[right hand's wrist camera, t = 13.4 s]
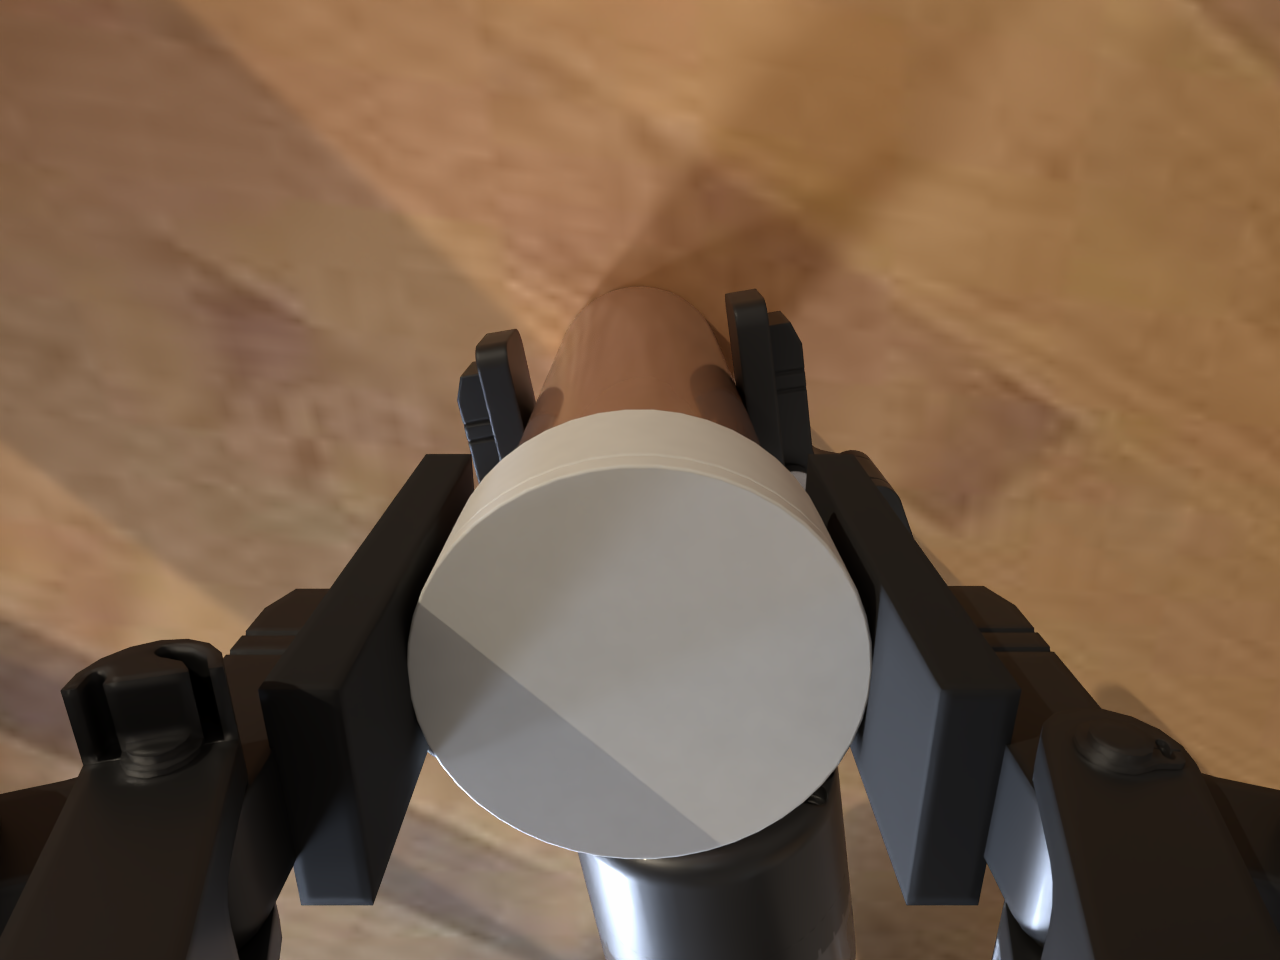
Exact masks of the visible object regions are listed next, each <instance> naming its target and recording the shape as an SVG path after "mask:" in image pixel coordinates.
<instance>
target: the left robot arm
mask: <svg viewBox="0 0 1280 960" xmlns="http://www.w3.org/2000/svg"><path fill="white" fill-rule="evenodd" d="M725 302H726V312H727V319H728V327H729V335H730V343H731V350H732V358H733V366H734V373H735V381H736V387H737V389H738V392H739V394H740V397H741V399H742V401H743V404H744V406H745V408H746V411H747V413H748V416H749V418H750V420H751V423H752V425H753V427H754V430H755V432H756V435H757V437H758V439H759V442H760V444H761V446H762V448H763V449H764V450H766V451H767V452H768V453H770V454H771V455H772V456H774V457H775V458H776V459H777V460H778V461H779V462H780V463H781V464H782V465H783V466H784V467H785V468H786V469H787V470H788V471H789V472H790V473H791V474H792V475H793V476H794V477H795V478H796V479H797V481H798V482H799V483H800V485H801V486H802V487H803V489H804V490H805V488H806V475H807V463H808V454H854V456H855V457H856V459H857V460H858V461H859V463H860V464H861V466H862V467H863V468H864V470H865V471H866V473H867V474H868V475H869V477H870V478H871V480H872V481H873V482H874V484H875V485H876V487H877V488H878V489H879V491H880V492H881V494H882V495H883V496H884V498H885V499H886V501H887V502H888V503H889V505H890V506H891V508H892V509H893V510H894V512H895V513H896V515H897V516H898V517H899V519H900V520H901V522H902V523H903V524H904V526H905V527H906V529H907V530H908V531H909V533H910V534H911V536H912V537H913V535H912V532H911V529H910V526H909V523H908V521H907V518H906V515H905V512H904V509H903V506H902V503H901V500H900V498H899V496H898V495H897V494H896V492H895V491H894V490H893V488H892V487H891V486H890V484H889V483H888V482H887V480H886V479H885V478H884V476H883V475H882V474H881V472H880V471H879V470H878V468H877V467H876V466H875V465H874V463H873V462H872V461H871V459H870V458H869V457H868V456H867V455H866V454H864V453H862V452H860V451H856V450H849V451H844V452H842V453H833V452H828V451H823V450H820V449H817V448H815V447H814V446H812V441H811V431H810V420H809V410H808V400H807V390H806V380H805V371H804V359H803V349H802V343H801V341H800V339H799V337H798V335H797V334H796V332H795V330H794V328H793V326H792V324H791V323H790V321H789V320H788V319H787V318H786V317H785V316H784V315H783V314H782V313H781V311H776V312H770V313H767V308H766V304H765V300H764V298H763V297H762V296H761V294H760V293H759V292H758V291H757V290H756V289H751V290H745V291H739V292H733V293H727V294H725ZM475 354H476V362H472V363H471V364H470V366H469V367H468V368H467V369H466V371H465V372H464V373H463V374H462V376H461V377H460V383H459V391H458V398H457V401H458V405H459V409H460V413H461V417H462V421H463V423H464V428H465V432H466V436H467V440H468V441H469V447H470V451H471V455H472V459H473V463H474V467H475V470H476V474H477V478H478V482H479V484H480V482H481V481H482V480H483V478H484V477H485V476H486V475H487V474H488V473H489V472H490V471H491V470H492V469H493V468H494V467H495V466H496V465H497V464H498V463H499V462H500V461H501V460H502V459H503V458H504V457H506V456H507V455H508V454H510V453H511V452H512V451H514V450H515V449H516V448H517V447H518V445H519V443H520V440H521V438H522V435H523V433H524V431H525V428H526V426H527V423H528V421H529V419H530V416H531V414H532V412H533V409H534V407H535V404H536V401H535V397H534V392H533V388H532V384H531V379H530V375H529V370H528V366H527V361H526V357H525V352H524V348H523V344H522V340H521V337H520V334H519V332H518V330H517V329H512V330H506V331H500V332H494V333H489V334H486V335H485V337H484V338H483V339H482V340H481V341H480V342H479V343H478V345H477V346H476V353H475ZM428 752H429V753H430V754H431V755H433V756H434V757H436V756H435V754H434V753H433V751H432V750H431V748H430V746H429V749H428ZM578 855H579V858H580V862H581V866H582V870H583V874H584V878H585V882H586V886H587V889H588V893H589V897H590V901H591V905H592V908H593V912H594V916H595V920H596V924H597V928H598V932H599V936H600V940H601V944H602V948H603V951H604V955H605V959H606V960H856V945H855V931H854V921H853V911H852V901H851V891H850V881H849V872H848V862H847V852H846V841H845V832H844V822H843V812H842V802H841V792H840V783H839V773H838V766H837V767H836V768H835V770H834V771H833V772H832V773H831V774H830V776H829V777H828V778H827V779H826V780H825V782H824V783H823V784H822V785H821V786H820V787H819V788H818V789H817V790H816V791H815V792H814V793H813V794H812V795H811V796H809V797H808V798H807V799H806V800H805V801H804V802H803V803H802V804H800V805H799V806H798V807H796V808H795V809H794V810H792V811H791V812H790V813H788V814H787V815H785V816H784V817H783V818H781V819H780V820H778V821H776V822H774V823H773V824H771V825H769V826H767V827H766V828H764V829H762V830H760V831H759V832H756V833H754V834H752V835H750V836H747V837H745V838H743V839H740V840H738V841H736V842H733V843H730V844H727V845H724V846H721V847H718V848H714V849H711V850H708V851H703V852H698V853H693V854H689V855H684V856H677V857H667V858H657V859H623V858H613V857H602V856H596V855H591V854H586V853H581V852H578Z"/></svg>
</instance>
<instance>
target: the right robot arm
mask: <svg viewBox="0 0 1280 960" xmlns="http://www.w3.org/2000/svg"><path fill="white" fill-rule="evenodd" d="M805 491H806V493H807V494H808V495H809V497H810V498H811V500H812V502H813V504H814V506H815V508H816V509H817V511H818V513H819V515H820V517H821V519H822V521H823V523H824V525H825V527H826V529H827V531H828V533H829V535H830V537H831V539H832V541H833V543H834V545H835V547H836V549H837V551H838V553H839V555H840V557H841V558H842V560H843V562H844V564H845V566H846V568H847V570H848V572H849V574H850V577H851V578H852V580H853V582H854V584H855V586H856V588H857V590H858V593H859V596H860V599H861V601H862V604H863V607H864V610H865V612H866V615H867V620H868V625H869V630H870V635H871V640H872V671H871V680H870V688H869V696H868V701H867V705H866V708H865V712H864V716H863V719H862V721H861V724H860V726H859V728H858V731H857V733H856V735H855V737H854V740H853V742H852V744H851V745H850V748H851V750H852V753H853V756H854V759H855V762H856V764H857V767H858V770H859V773H860V776H861V779H862V781H863V784H864V787H865V790H866V793H867V795H868V798H869V801H870V804H871V807H872V809H873V812H874V815H875V818H876V821H877V823H878V826H879V829H880V832H881V835H882V838H883V840H884V843H885V846H886V849H887V852H888V854H889V857H890V860H891V863H892V866H893V868H894V871H895V874H896V877H897V880H898V883H899V885H900V888H901V891H902V894H903V897H904V899H905V902H906V905H978V903H979V898H980V893H981V888H982V883H983V878H984V873H985V869H986V864H988V866H989V868H990V870H991V872H992V874H993V876H994V878H995V880H996V882H997V884H998V887H999V889H1000V891H1001V893H1002V895H1003V897H1004V899H1005V901H1004V905H1003V910H1002V915H1001V919H1000V924H999V928H998V933H997V938H996V942H995V947H994V951H993V956H992V960H1280V790H1276V789H1271V788H1266V787H1261V786H1256V785H1252V784H1247V783H1242V782H1237V781H1232V780H1227V779H1223V778H1218V777H1214V776H1210V775H1206V774H1203V773H1201V772H1200V770H1199V768H1198V766H1197V764H1196V763H1195V761H1194V760H1193V759H1192V758H1191V756H1190V755H1189V754H1188V753H1187V751H1186V750H1185V749H1184V747H1183V746H1182V745H1180V744H1179V743H1178V742H1176V741H1175V740H1173V739H1172V738H1171V737H1169V736H1168V735H1166V734H1165V733H1164V732H1162V731H1161V730H1160V729H1157V728H1155V727H1153V726H1151V725H1149V724H1147V723H1144V722H1142V721H1140V720H1138V719H1136V718H1133V717H1131V716H1127V715H1123V714H1119V713H1116V712H1112V711H1108V710H1104V709H1101V708H1100V706H1099V705H1098V704H1097V703H1096V702H1095V700H1094V699H1093V698H1092V697H1091V696H1090V694H1089V693H1088V692H1087V691H1086V690H1085V688H1084V687H1083V686H1082V685H1081V684H1080V682H1079V681H1078V680H1077V679H1076V678H1075V676H1074V675H1073V674H1072V673H1071V672H1070V670H1069V669H1068V668H1067V667H1066V666H1065V665H1064V663H1063V662H1062V661H1061V660H1060V659H1059V657H1058V656H1057V655H1056V654H1055V653H1054V652H1050V647H1049V645H1048V644H1047V643H1046V642H1045V641H1044V639H1043V638H1042V637H1041V636H1040V635H1039V633H1034V627H1033V626H1032V625H1031V624H1030V623H1029V621H1028V620H1027V619H1026V618H1025V617H1024V615H1023V614H1022V613H1021V612H1020V611H1019V609H1018V608H1017V607H1016V606H1015V605H1014V604H1012V603H1010V602H1009V601H1007V600H1006V599H1004V598H1002V597H1001V596H999V595H997V594H996V593H994V592H993V591H991V590H989V589H988V588H986V587H984V586H947V584H946V583H945V582H944V580H943V579H942V577H941V576H940V575H939V573H938V572H937V570H936V569H935V568H934V566H933V565H932V563H931V562H930V561H929V559H928V558H927V556H926V555H925V554H924V552H923V551H922V550H921V548H920V547H919V545H918V544H917V543H916V541H915V540H914V538H913V537H912V536H911V534H910V533H909V531H908V530H907V529H906V527H905V526H904V524H903V523H902V522H901V520H900V519H899V517H898V516H897V515H896V513H895V512H894V510H893V509H892V508H891V506H890V505H889V503H888V502H887V501H886V499H885V498H884V496H883V495H882V494H881V492H880V491H879V489H878V488H877V487H876V485H875V484H874V482H873V481H872V480H871V478H870V477H869V475H868V474H867V473H866V471H865V470H864V468H863V467H862V466H861V464H860V463H859V461H858V460H857V459H856V457H855V456H854V454H808V463H807V475H806V488H805ZM473 492H474V482H473V469H472V457H471V454H426V455H425V457H424V458H423V459H422V461H421V462H420V464H419V465H418V466H417V468H416V469H415V470H414V472H413V473H412V475H411V476H410V477H409V479H408V480H407V482H406V483H405V484H404V486H403V487H402V489H401V490H400V491H399V493H398V494H397V496H396V497H395V498H394V500H393V501H392V503H391V504H390V505H389V507H388V508H387V510H386V511H385V512H384V514H383V515H382V517H381V518H380V519H379V521H378V522H377V524H376V525H375V526H374V528H373V529H372V531H371V532H370V533H369V535H368V536H367V538H366V539H365V540H364V542H363V543H362V545H361V546H360V547H359V549H358V550H357V552H356V553H355V554H354V556H353V557H352V559H351V560H350V561H349V563H348V564H347V565H346V567H345V568H344V570H343V571H342V572H341V574H340V575H339V577H338V578H337V579H336V581H335V582H334V584H333V585H332V586H331V588H330V589H295V590H293V591H292V592H290V593H289V594H287V595H285V596H284V597H282V598H281V599H279V600H277V601H276V602H274V603H272V604H271V605H269V606H268V607H266V608H265V609H264V610H263V611H262V612H261V613H260V615H259V616H258V617H257V618H256V619H255V621H254V622H253V623H252V624H251V625H250V627H249V628H248V629H247V630H246V635H245V636H241V638H240V639H239V640H238V641H237V642H236V644H235V645H234V646H233V647H232V648H231V650H230V655H226V656H225V657H224V658H223V657H222V653H221V652H220V651H219V650H218V649H216V648H215V647H214V646H212V645H211V644H210V643H206V642H201V641H196V640H191V639H176V640H160V641H155V642H151V643H146V644H142V645H137V646H133V647H129V648H127V649H124V650H122V651H119V652H116V653H114V654H111V655H109V656H106V657H104V658H101V659H100V660H98V661H96V662H95V663H93V664H91V665H90V666H88V667H87V668H85V669H83V670H82V671H80V672H78V673H77V674H76V675H75V676H74V677H73V678H72V679H71V680H70V681H69V682H68V683H67V684H66V685H65V686H64V688H63V689H62V690H61V694H62V697H63V700H64V704H65V707H66V710H67V713H68V717H69V720H70V723H71V726H72V730H73V733H74V736H75V739H76V743H77V746H78V749H79V752H80V756H81V759H82V762H83V767H82V769H81V772H80V774H79V776H78V777H76V778H73V779H69V780H65V781H61V782H56V783H51V784H46V785H42V786H37V787H32V788H27V789H22V790H18V791H13V792H8V793H3V794H0V960H279V958H280V950H281V942H282V934H281V926H280V919H279V915H278V910H277V905H276V900H277V898H278V896H279V894H280V892H281V890H282V888H283V886H284V884H285V882H286V880H287V878H288V875H289V873H290V871H291V869H292V867H293V866H294V871H295V876H296V881H297V886H298V891H299V896H300V901H301V905H373V904H374V901H375V898H376V895H377V892H378V889H379V887H380V884H381V881H382V878H383V875H384V873H385V870H386V867H387V864H388V861H389V859H390V856H391V853H392V850H393V847H394V845H395V842H396V839H397V836H398V833H399V830H400V828H401V825H402V822H403V819H404V816H405V814H406V811H407V808H408V805H409V802H410V800H411V797H412V794H413V791H414V788H415V786H416V783H417V780H418V777H419V774H420V771H421V769H422V766H423V763H424V760H425V757H426V755H427V752H428V749H429V745H428V743H427V741H426V739H425V736H424V734H423V732H422V730H421V727H420V725H419V723H418V721H417V718H416V714H415V710H414V707H413V703H412V700H411V693H410V684H409V676H408V668H407V644H408V638H409V632H410V627H411V622H412V616H413V614H414V611H415V608H416V605H417V603H418V600H419V597H420V594H421V591H422V589H423V587H424V585H425V583H426V581H427V579H428V577H429V575H430V573H431V571H432V569H433V567H434V565H435V563H436V561H437V559H438V557H439V555H440V553H441V551H442V549H443V547H444V545H445V543H446V541H447V539H448V537H449V535H450V533H451V532H452V530H453V528H454V526H455V524H456V522H457V520H458V518H459V516H460V514H461V512H462V510H463V508H464V507H465V505H466V503H467V501H468V499H469V497H470V496H471V494H472V493H473Z"/></svg>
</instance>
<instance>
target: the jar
mask: <svg viewBox="0 0 1280 960" xmlns="http://www.w3.org/2000/svg"><path fill="white" fill-rule="evenodd" d="M619 410H660V411H668V412H676V413H682V414H686V415H690V416H694V417H698V418H702V419H706V420H709V421H711V422H714V423H716V424H719V425H721V426H724V427H726V428H729V429H731V430H734V431H735V432H737V433H739V434H741V435H742V436H744V437H746V438H748V439H750V440H751V441H753V442H755V443H756V444H758V445H759V446H760V447H762V446H761V444H760V442H759V439H758V437H757V435H756V432H755V430H754V427H753V425H752V423H751V420H750V418H749V416H748V413H747V411H746V408H745V406H744V404H743V401H742V399H741V397H740V394H739V392H738V389H737V387H736V385H735V382H734V380H733V378H732V375H731V373H730V370H729V368H728V366H727V363H726V361H725V359H724V356H723V354H722V351H721V349H720V347H719V344H718V342H717V340H716V337H715V335H714V333H713V331H712V329H711V327H710V325H709V324H708V322H707V321H706V319H705V318H704V317H703V315H702V314H701V313H700V312H699V311H698V310H697V309H696V308H695V307H694V306H692V305H691V304H690V303H689V302H687V301H686V300H684V299H683V298H681V297H679V296H677V295H675V294H673V293H671V292H668V291H665V290H662V289H658V288H652V287H627V288H621V289H618V290H614V291H611V292H609V293H606V294H604V295H602V296H600V297H598V298H597V299H595V300H593V301H592V302H591V303H589V304H588V305H587V306H586V307H584V308H583V309H582V311H581V312H580V313H579V314H578V315H577V316H576V317H575V319H574V320H573V321H572V323H571V324H570V326H569V328H568V329H567V331H566V333H565V335H564V338H563V340H562V343H561V345H560V347H559V350H558V352H557V355H556V357H555V359H554V362H553V364H552V366H551V369H550V371H549V374H548V376H547V378H546V381H545V383H544V385H543V388H542V390H541V393H540V395H539V397H538V400H537V402H536V404H535V407H534V409H533V412H532V414H531V416H530V419H529V421H528V423H527V426H526V428H525V431H524V433H523V435H522V438H521V440H520V443H519V445H518V447H519V446H520V445H522V444H523V443H525V442H526V441H528V440H530V439H532V438H533V437H535V436H537V435H539V434H541V433H542V432H544V431H546V430H548V429H551V428H553V427H556V426H558V425H561V424H563V423H565V422H568V421H570V420H574V419H578V418H581V417H585V416H589V415H593V414H597V413H604V412H611V411H619ZM518 447H517V448H518Z"/></svg>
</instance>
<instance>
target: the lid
mask: <svg viewBox="0 0 1280 960" xmlns="http://www.w3.org/2000/svg"><path fill="white" fill-rule="evenodd" d="M407 668H408V676H409V684H410V693H411V700H412V703H413V707H414V710H415V714H416V718H417V721H418V723H419V725H420V727H421V730H422V732H423V734H424V736H425V739H426V741H427V743H428V745H429V746H430V748H431V750H432V751H433V753H434V754H435V756H436V758H437V759H438V761H439V762H440V764H441V766H442V767H443V768H444V769H445V770H446V772H447V773H448V774H449V775H450V776H451V778H452V779H453V780H454V781H455V782H456V784H457V785H458V786H459V787H460V788H461V789H462V790H464V791H465V792H466V793H467V794H468V795H469V796H470V797H471V798H472V799H473V800H474V801H475V802H476V803H478V804H479V805H480V806H482V807H483V808H484V809H486V810H487V811H488V812H490V813H491V814H493V815H494V816H495V817H497V818H498V819H500V820H501V821H503V822H505V823H507V824H508V825H510V826H512V827H514V828H516V829H517V830H519V831H521V832H523V833H525V834H527V835H530V836H532V837H534V838H537V839H539V840H541V841H544V842H546V843H549V844H552V845H555V846H559V847H562V848H565V849H568V850H571V851H576V852H581V853H586V854H591V855H596V856H602V857H613V858H623V859H657V858H667V857H677V856H684V855H689V854H693V853H698V852H703V851H708V850H711V849H714V848H718V847H721V846H724V845H727V844H730V843H733V842H736V841H738V840H740V839H743V838H745V837H747V836H750V835H752V834H754V833H756V832H759V831H760V830H762V829H764V828H766V827H767V826H769V825H771V824H773V823H774V822H776V821H778V820H780V819H781V818H783V817H784V816H785V815H787V814H788V813H790V812H791V811H792V810H794V809H795V808H796V807H798V806H799V805H800V804H802V803H803V802H804V801H805V800H806V799H807V798H808V797H809V796H811V795H812V794H813V793H814V792H815V791H816V790H817V789H818V788H819V787H820V786H821V785H822V784H823V783H824V782H825V780H826V779H827V778H828V777H829V776H830V774H831V773H832V772H833V771H834V770H835V768H836V767H837V766H838V765H839V763H840V761H841V760H842V758H843V757H844V755H845V753H846V752H847V750H848V749H849V747H850V745H851V744H852V742H853V740H854V737H855V735H856V733H857V731H858V728H859V726H860V724H861V721H862V719H863V716H864V712H865V708H866V705H867V701H868V696H869V688H870V680H871V671H872V640H871V635H870V630H869V625H868V620H867V615H866V612H865V610H864V607H863V604H862V601H861V599H860V596H859V593H858V590H857V588H856V586H855V584H854V582H853V580H852V578H851V577H850V574H849V572H848V570H847V568H846V566H845V564H844V562H843V560H842V558H841V557H840V555H839V553H838V551H837V549H836V547H835V545H834V543H833V541H832V539H831V537H830V535H829V533H828V531H827V529H826V527H825V525H824V523H823V521H822V519H821V517H820V515H819V513H818V511H817V509H816V508H815V506H814V504H813V502H812V500H811V498H810V497H809V495H808V494H807V493H806V491H805V490H804V489H803V487H802V486H801V485H800V483H799V482H798V481H797V479H796V478H795V477H794V476H793V475H792V474H791V473H790V472H789V471H788V470H787V469H786V468H785V467H784V466H783V465H782V464H781V463H780V462H779V461H778V460H777V459H776V458H775V457H774V456H772V455H771V454H770V453H768V452H767V451H766V450H764V449H763V448H762V447H760V446H759V445H758V444H756V443H755V442H753V441H751V440H750V439H748V438H746V437H744V436H742V435H741V434H739V433H737V432H735V431H734V430H731V429H729V428H726V427H724V426H721V425H719V424H716V423H714V422H711V421H709V420H706V419H702V418H698V417H694V416H690V415H686V414H682V413H676V412H668V411H660V410H619V411H611V412H604V413H597V414H593V415H589V416H585V417H581V418H578V419H574V420H570V421H568V422H565V423H563V424H561V425H558V426H556V427H553V428H551V429H548V430H546V431H544V432H542V433H541V434H539V435H537V436H535V437H533V438H532V439H530V440H528V441H526V442H525V443H523V444H522V445H520V446H519V447H518V448H516V449H515V450H514V451H512V452H511V453H510V454H508V455H507V456H506V457H504V458H503V459H502V460H501V461H500V462H499V463H498V464H497V465H496V466H495V467H494V468H493V469H492V470H491V471H490V472H489V473H488V474H487V475H486V476H485V477H484V478H483V480H482V481H481V482H480V484H479V485H478V486H477V488H476V489H475V490H474V492H473V493H472V494H471V496H470V497H469V499H468V501H467V503H466V505H465V507H464V508H463V510H462V512H461V514H460V516H459V518H458V520H457V522H456V524H455V526H454V528H453V530H452V532H451V533H450V535H449V537H448V539H447V541H446V543H445V545H444V547H443V549H442V551H441V553H440V555H439V557H438V559H437V561H436V563H435V565H434V567H433V569H432V571H431V573H430V575H429V577H428V579H427V581H426V583H425V585H424V587H423V589H422V591H421V594H420V597H419V600H418V603H417V605H416V608H415V611H414V614H413V616H412V622H411V627H410V632H409V638H408V644H407Z"/></svg>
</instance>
